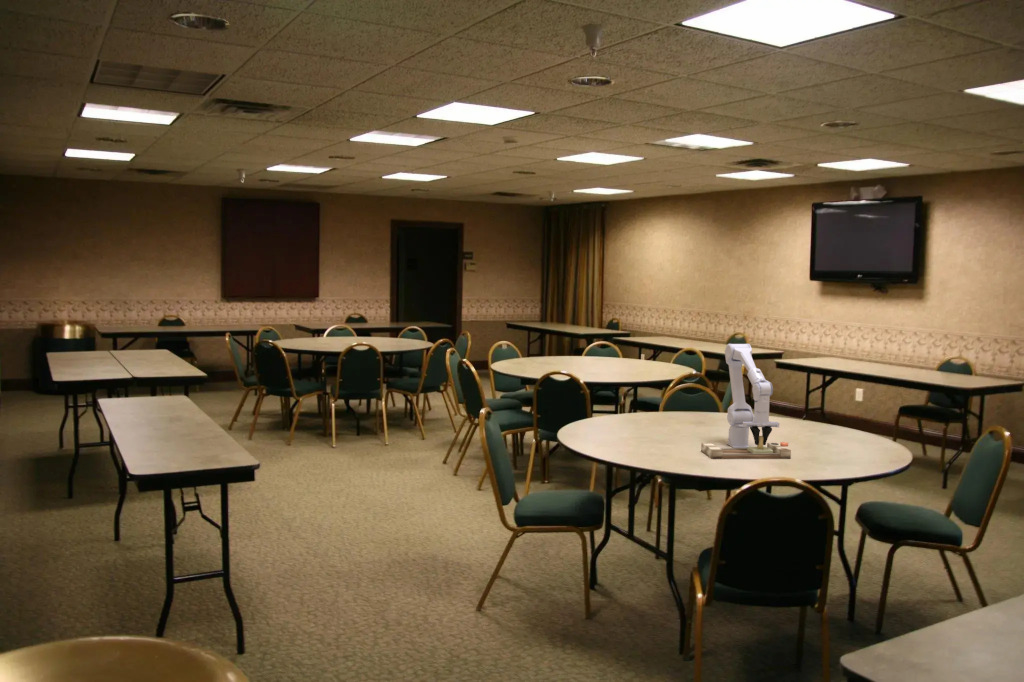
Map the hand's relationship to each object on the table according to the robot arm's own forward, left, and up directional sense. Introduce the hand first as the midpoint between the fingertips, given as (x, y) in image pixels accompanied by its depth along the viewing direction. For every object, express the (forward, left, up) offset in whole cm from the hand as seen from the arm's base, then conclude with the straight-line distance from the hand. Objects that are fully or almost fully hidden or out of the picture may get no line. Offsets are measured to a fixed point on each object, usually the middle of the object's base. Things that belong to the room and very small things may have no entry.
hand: (760, 444), depth 322 cm
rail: (0, -6, -4) cm, 7 cm away
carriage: (0, 0, -3) cm, 3 cm away
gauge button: (+5, +8, +1) cm, 9 cm away
